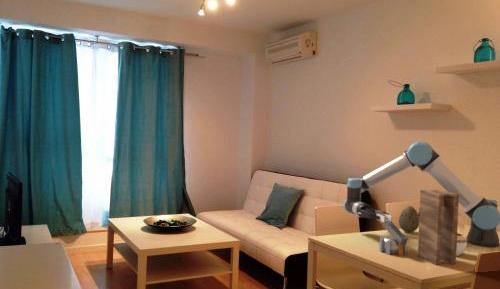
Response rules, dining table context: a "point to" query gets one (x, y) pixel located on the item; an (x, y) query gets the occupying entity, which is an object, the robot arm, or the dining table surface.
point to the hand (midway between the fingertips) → (388, 219)
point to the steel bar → (392, 229)
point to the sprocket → (392, 246)
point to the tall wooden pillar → (438, 226)
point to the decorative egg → (409, 219)
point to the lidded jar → (461, 245)
